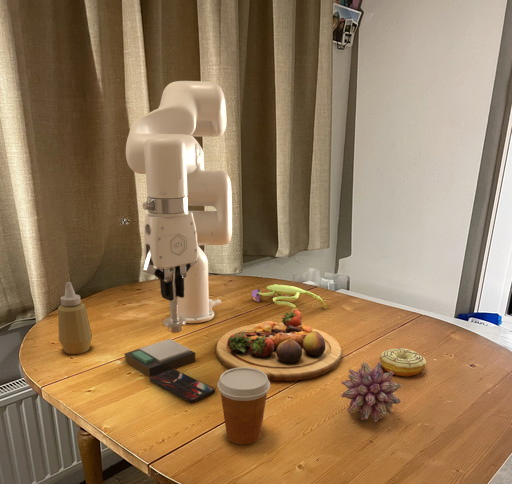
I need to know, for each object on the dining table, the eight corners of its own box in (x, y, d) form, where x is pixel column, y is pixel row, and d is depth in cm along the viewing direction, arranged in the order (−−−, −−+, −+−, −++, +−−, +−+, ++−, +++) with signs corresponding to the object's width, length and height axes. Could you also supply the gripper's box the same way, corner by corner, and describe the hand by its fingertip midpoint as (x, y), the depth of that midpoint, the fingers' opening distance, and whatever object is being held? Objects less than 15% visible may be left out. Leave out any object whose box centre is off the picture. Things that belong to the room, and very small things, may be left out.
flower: (381, 407, 107) (414, 426, 95) (329, 413, 103) (357, 433, 92) (383, 354, 105) (416, 367, 93) (330, 358, 101) (359, 372, 90)
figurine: (282, 321, 149) (283, 303, 147) (242, 296, 171) (242, 280, 169) (332, 311, 157) (333, 294, 155) (287, 288, 179) (288, 273, 177)
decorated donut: (432, 368, 121) (434, 354, 120) (411, 383, 114) (414, 368, 112) (393, 355, 127) (394, 341, 126) (371, 368, 120) (373, 354, 119)
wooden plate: (262, 321, 148) (263, 295, 145) (362, 348, 131) (365, 319, 128) (189, 358, 124) (188, 327, 121) (300, 397, 107) (302, 362, 104)
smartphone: (172, 368, 118) (216, 388, 108) (172, 370, 118) (216, 391, 108) (147, 378, 113) (191, 401, 103) (147, 381, 113) (191, 404, 103)
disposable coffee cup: (217, 421, 98) (216, 366, 93) (266, 420, 98) (267, 365, 94) (218, 451, 89) (217, 391, 84) (271, 449, 90) (273, 390, 85)
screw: (190, 328, 106) (180, 336, 102) (170, 325, 107) (159, 333, 103) (187, 269, 101) (177, 275, 97) (166, 266, 102) (154, 273, 98)
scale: (169, 347, 130) (169, 336, 129) (195, 361, 123) (195, 349, 122) (125, 362, 122) (124, 350, 121) (149, 377, 114) (148, 365, 113)
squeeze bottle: (83, 358, 124) (74, 288, 117) (54, 355, 125) (43, 286, 119) (99, 345, 131) (92, 279, 124) (71, 342, 133) (62, 277, 126)
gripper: (142, 213, 87) (149, 311, 94) (213, 204, 97) (214, 293, 104) (120, 207, 92) (129, 301, 99) (189, 199, 102) (193, 285, 109)
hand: (173, 296), depth 102 cm, fingers closed on screw, 2 cm apart
